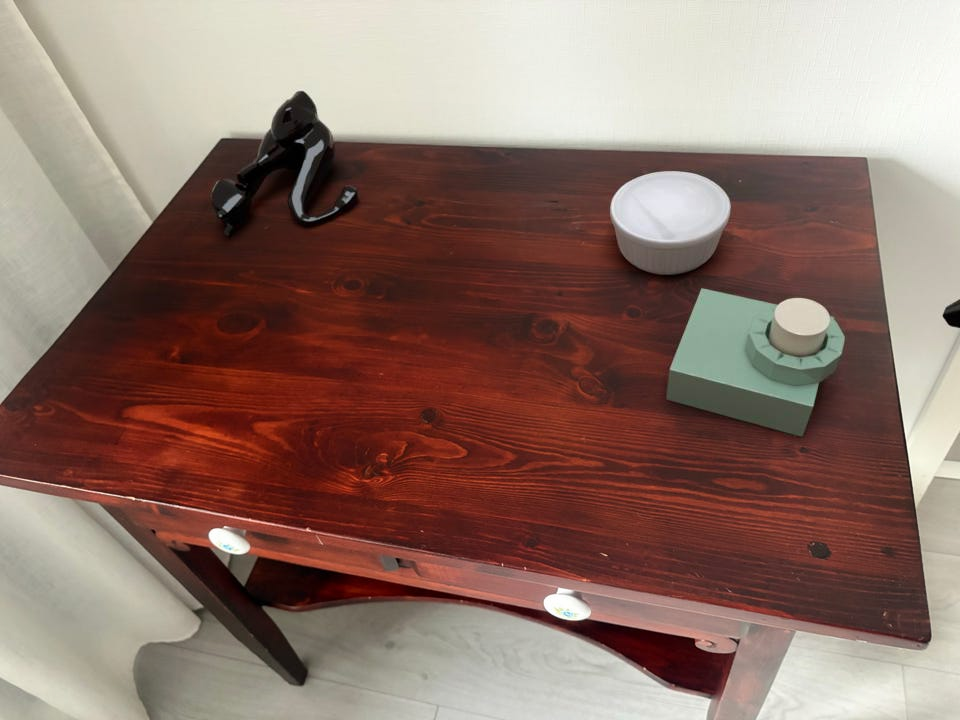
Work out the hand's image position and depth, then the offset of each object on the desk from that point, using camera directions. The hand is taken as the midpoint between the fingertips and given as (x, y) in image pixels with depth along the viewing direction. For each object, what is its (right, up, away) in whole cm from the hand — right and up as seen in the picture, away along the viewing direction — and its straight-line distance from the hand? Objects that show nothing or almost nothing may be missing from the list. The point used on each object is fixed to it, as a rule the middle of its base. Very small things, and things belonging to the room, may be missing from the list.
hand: (946, 317), depth 50 cm
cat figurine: (-52, +16, +39) cm, 67 cm away
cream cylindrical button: (-6, -1, +9) cm, 11 cm away
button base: (-8, -4, +15) cm, 17 cm away
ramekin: (-12, +9, +26) cm, 30 cm away
